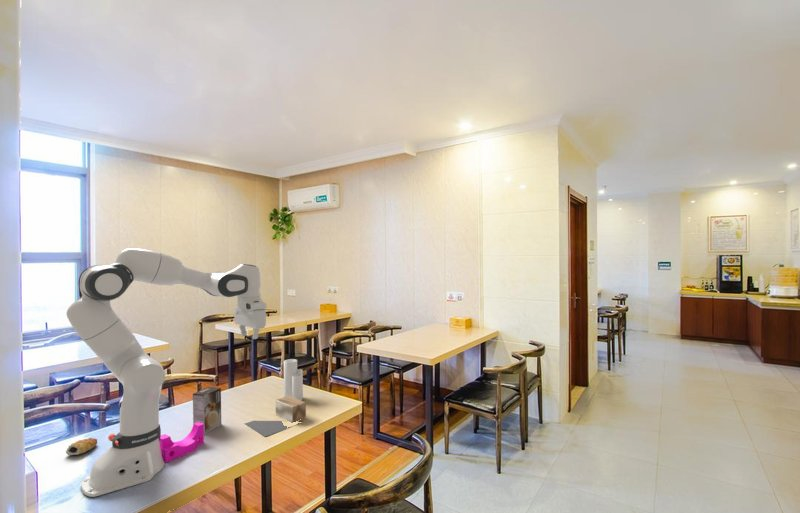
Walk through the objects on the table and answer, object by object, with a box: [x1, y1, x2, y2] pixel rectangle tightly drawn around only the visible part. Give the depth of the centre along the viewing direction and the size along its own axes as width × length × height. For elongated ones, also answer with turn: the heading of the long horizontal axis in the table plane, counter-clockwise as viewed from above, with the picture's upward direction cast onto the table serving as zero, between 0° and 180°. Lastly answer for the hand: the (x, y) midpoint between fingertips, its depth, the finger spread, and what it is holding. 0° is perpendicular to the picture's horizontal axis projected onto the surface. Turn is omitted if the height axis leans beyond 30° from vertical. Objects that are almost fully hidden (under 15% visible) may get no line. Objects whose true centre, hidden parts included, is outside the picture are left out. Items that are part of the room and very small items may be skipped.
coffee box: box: [192, 386, 222, 435], centre depth 162 cm, size 9×6×16 cm
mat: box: [244, 420, 290, 438], centre depth 170 cm, size 30×18×1 cm, turn 138°
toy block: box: [160, 422, 205, 463], centre depth 143 cm, size 15×6×8 cm, turn 146°
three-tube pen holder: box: [283, 358, 304, 401], centre depth 192 cm, size 11×7×20 cm, turn 59°
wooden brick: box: [275, 396, 307, 423], centre depth 172 cm, size 7×13×7 cm
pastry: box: [65, 437, 98, 456], centre depth 144 cm, size 9×7×4 cm
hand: (249, 337), depth 158 cm, fingers open, 8 cm apart
